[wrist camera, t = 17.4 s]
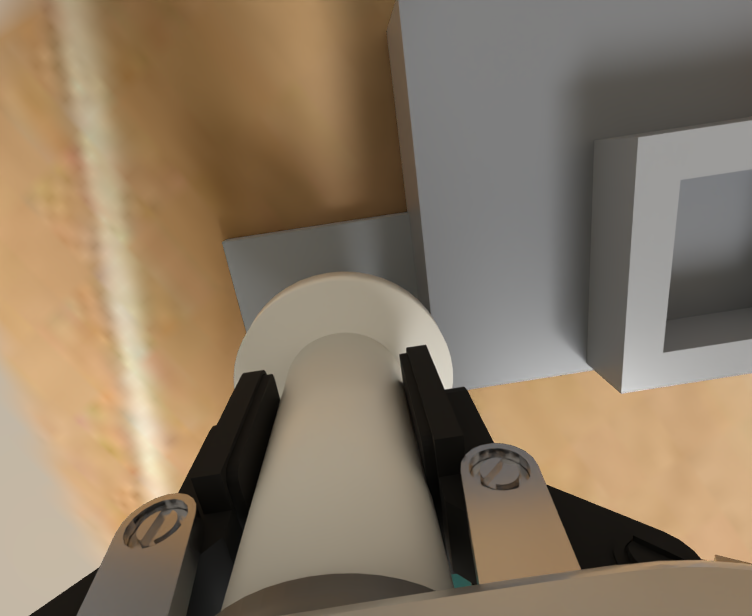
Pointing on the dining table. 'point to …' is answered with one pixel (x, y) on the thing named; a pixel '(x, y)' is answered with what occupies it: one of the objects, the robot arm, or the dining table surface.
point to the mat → (319, 257)
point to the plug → (339, 452)
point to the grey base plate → (580, 185)
